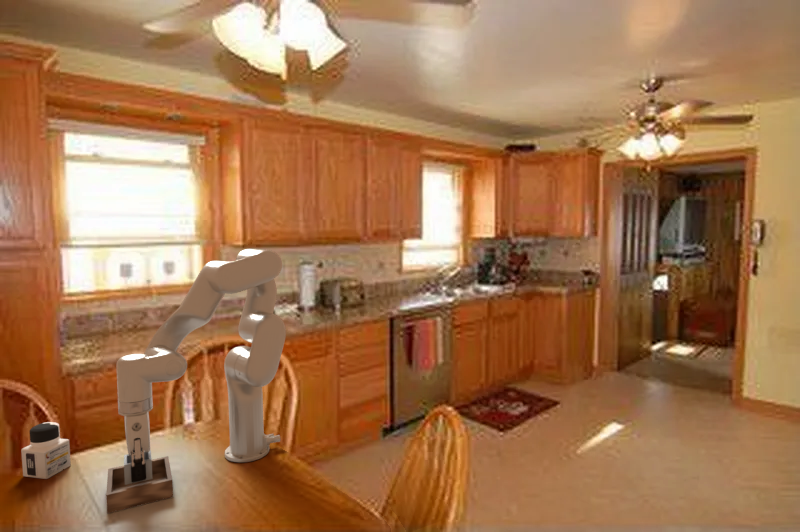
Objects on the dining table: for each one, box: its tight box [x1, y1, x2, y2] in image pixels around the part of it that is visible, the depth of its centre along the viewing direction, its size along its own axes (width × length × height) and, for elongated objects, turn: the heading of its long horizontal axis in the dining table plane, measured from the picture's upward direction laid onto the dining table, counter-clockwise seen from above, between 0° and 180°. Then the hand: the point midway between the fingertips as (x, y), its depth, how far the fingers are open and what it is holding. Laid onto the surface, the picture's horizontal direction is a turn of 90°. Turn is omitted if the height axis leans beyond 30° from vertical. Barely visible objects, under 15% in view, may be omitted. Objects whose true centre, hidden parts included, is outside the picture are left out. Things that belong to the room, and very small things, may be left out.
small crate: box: [123, 449, 153, 485], centre depth 123 cm, size 6×6×5 cm
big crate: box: [105, 455, 174, 514], centre depth 124 cm, size 14×14×4 cm
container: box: [20, 421, 72, 480], centre depth 134 cm, size 8×8×13 cm
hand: (138, 473), depth 123 cm, fingers closed on small crate, 6 cm apart
